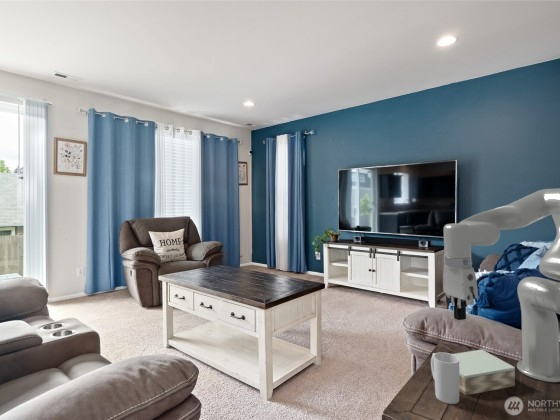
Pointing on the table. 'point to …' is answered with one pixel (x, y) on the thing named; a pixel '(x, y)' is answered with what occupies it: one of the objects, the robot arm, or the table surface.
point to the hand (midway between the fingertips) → (460, 318)
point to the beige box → (486, 382)
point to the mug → (446, 377)
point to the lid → (480, 364)
